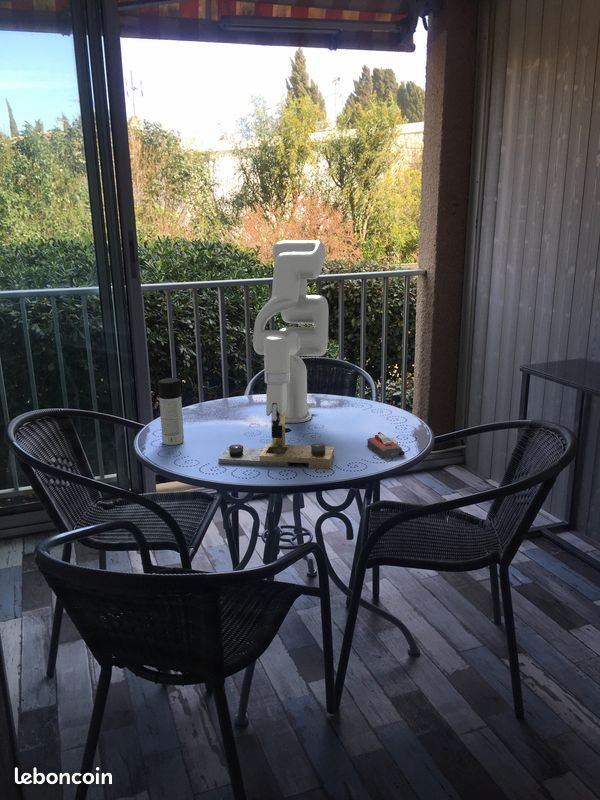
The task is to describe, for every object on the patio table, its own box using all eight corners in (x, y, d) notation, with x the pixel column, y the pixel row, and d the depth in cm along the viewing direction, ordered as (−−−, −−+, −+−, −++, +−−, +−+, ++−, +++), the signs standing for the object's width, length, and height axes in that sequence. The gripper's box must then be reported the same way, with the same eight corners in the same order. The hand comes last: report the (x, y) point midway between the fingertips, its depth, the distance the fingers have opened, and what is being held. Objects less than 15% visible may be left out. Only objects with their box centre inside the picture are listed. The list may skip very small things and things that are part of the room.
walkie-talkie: (411, 457, 194) (381, 436, 212) (411, 443, 193) (381, 423, 211) (383, 461, 191) (356, 439, 209) (384, 446, 190) (356, 426, 208)
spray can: (188, 441, 209) (184, 379, 203) (173, 447, 203) (168, 384, 198) (173, 437, 212) (169, 376, 207) (157, 443, 207) (153, 381, 202)
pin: (278, 441, 207) (277, 404, 204) (287, 444, 205) (287, 407, 201) (269, 445, 204) (268, 407, 201) (279, 447, 202) (278, 410, 198)
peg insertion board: (227, 451, 199) (227, 435, 198) (334, 456, 194) (334, 440, 193) (218, 463, 190) (217, 447, 188) (330, 469, 185) (330, 452, 183)
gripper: (270, 370, 207) (271, 426, 212) (258, 383, 191) (260, 443, 196) (294, 370, 206) (295, 427, 211) (284, 384, 190) (285, 445, 195)
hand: (278, 434), depth 203 cm, fingers closed on pin, 4 cm apart
